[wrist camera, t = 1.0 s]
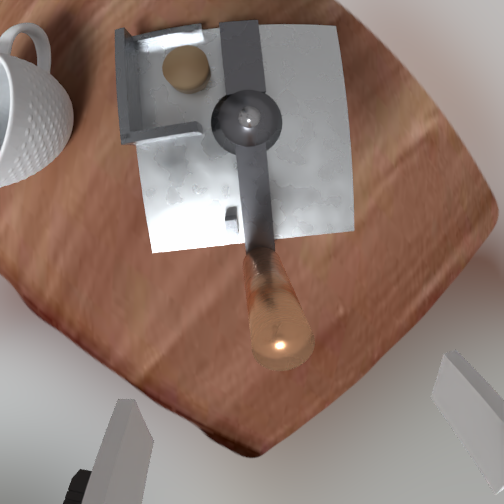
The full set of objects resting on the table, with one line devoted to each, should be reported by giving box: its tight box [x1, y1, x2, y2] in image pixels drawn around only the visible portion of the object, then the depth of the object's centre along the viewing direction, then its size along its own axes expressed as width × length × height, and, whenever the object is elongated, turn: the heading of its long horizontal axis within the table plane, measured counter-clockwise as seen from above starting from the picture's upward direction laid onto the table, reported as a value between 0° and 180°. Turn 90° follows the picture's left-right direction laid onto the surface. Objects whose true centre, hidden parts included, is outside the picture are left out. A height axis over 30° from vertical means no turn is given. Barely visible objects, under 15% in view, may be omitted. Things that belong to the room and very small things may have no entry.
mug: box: [0, 23, 74, 188], centre depth 19 cm, size 15×11×13 cm
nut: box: [162, 45, 211, 94], centre depth 22 cm, size 4×4×3 cm
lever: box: [219, 20, 315, 371], centre depth 19 cm, size 22×4×14 cm, turn 6°
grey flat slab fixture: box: [115, 24, 354, 253], centre depth 25 cm, size 20×19×6 cm
